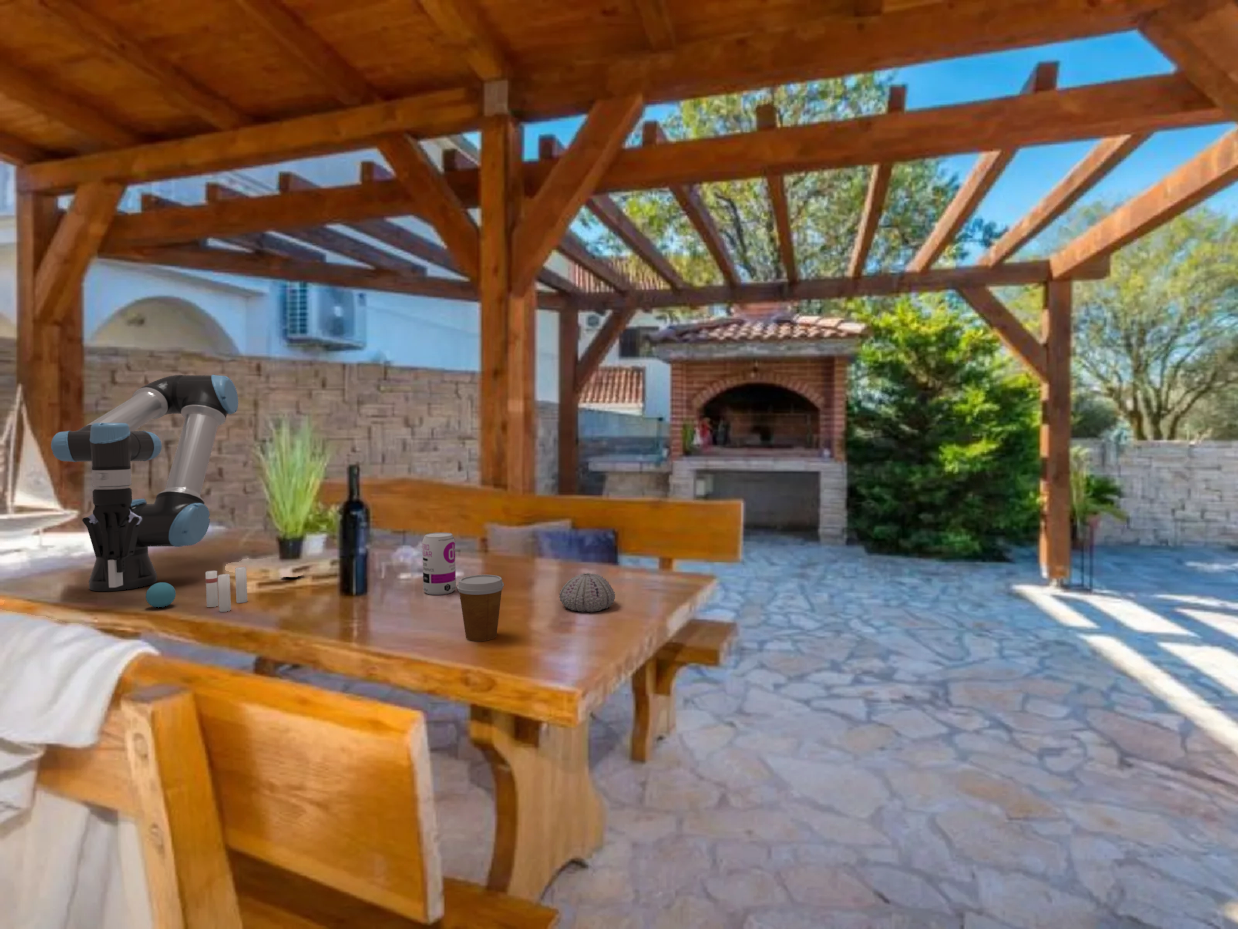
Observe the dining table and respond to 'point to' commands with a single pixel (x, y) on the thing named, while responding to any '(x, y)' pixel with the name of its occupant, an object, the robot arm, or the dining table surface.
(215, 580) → the front pin
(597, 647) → the dining table surface
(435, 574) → the supplement can
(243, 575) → the back left pin
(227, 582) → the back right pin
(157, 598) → the ball
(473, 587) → the disposable coffee cup
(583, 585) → the sea urchin shell
